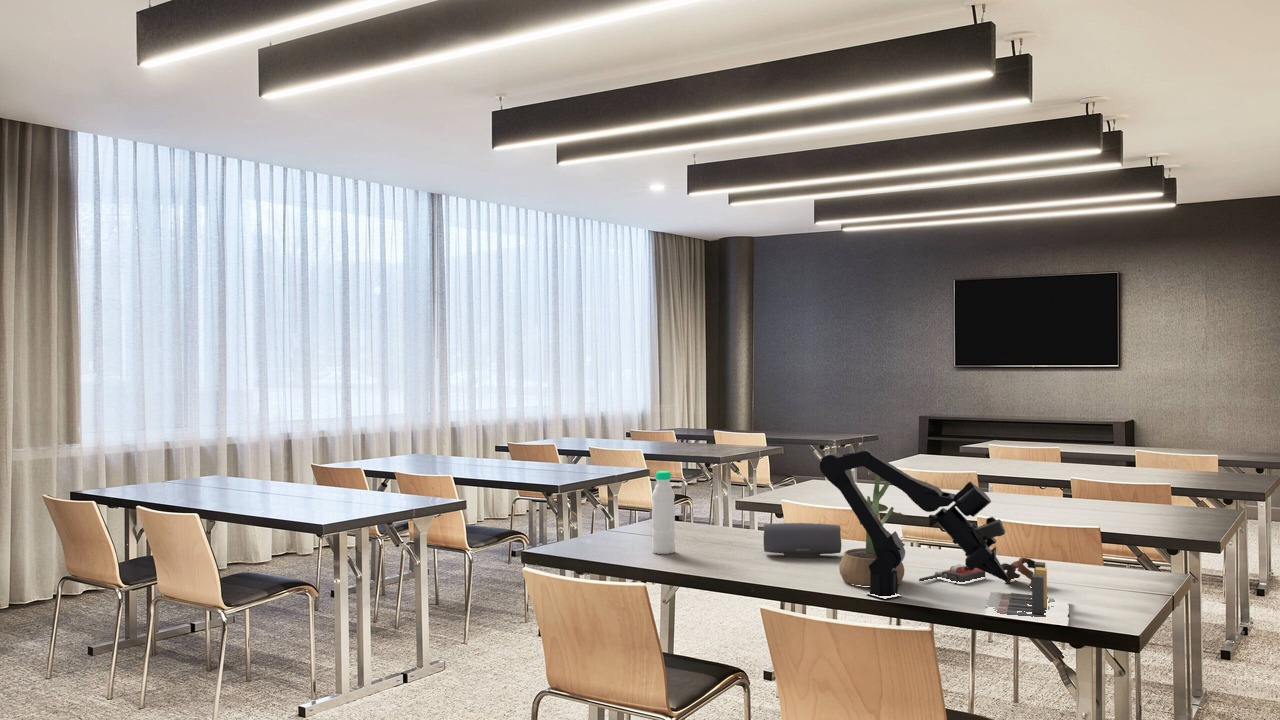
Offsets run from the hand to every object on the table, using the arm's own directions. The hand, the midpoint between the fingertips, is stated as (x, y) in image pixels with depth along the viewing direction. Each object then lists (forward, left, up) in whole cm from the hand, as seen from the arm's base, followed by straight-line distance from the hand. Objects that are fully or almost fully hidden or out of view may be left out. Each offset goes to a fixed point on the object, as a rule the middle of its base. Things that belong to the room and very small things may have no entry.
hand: (1006, 579), depth 223 cm
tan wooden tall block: (+4, -6, -6) cm, 9 cm away
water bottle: (-33, +98, -7) cm, 104 cm away
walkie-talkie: (+12, +25, -8) cm, 29 cm away
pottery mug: (+22, +12, -7) cm, 26 cm away
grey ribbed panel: (+3, -4, -7) cm, 8 cm away
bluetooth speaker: (-1, +71, -7) cm, 72 cm away
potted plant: (-5, +37, -7) cm, 38 cm away
